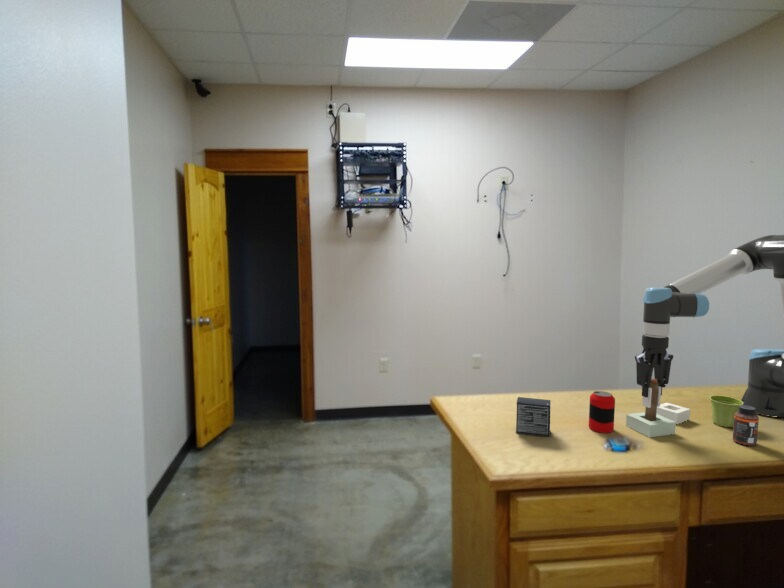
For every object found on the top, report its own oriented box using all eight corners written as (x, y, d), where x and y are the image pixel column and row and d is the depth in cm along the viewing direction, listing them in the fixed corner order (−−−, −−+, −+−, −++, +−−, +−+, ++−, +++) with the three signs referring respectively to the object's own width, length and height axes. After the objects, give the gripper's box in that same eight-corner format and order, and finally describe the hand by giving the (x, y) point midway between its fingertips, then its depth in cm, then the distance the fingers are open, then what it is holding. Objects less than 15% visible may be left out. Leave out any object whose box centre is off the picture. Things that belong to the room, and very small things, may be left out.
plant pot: (743, 424, 158) (745, 399, 157) (739, 432, 151) (741, 406, 150) (710, 417, 164) (712, 393, 163) (705, 424, 157) (707, 400, 157)
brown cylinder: (650, 418, 155) (653, 377, 153) (658, 422, 152) (660, 380, 150) (642, 419, 154) (645, 378, 153) (650, 423, 151) (652, 381, 149)
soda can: (594, 422, 159) (595, 388, 158) (617, 428, 154) (618, 393, 153) (584, 428, 154) (586, 393, 153) (608, 435, 149) (610, 399, 148)
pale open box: (650, 422, 159) (650, 411, 159) (674, 434, 150) (675, 422, 149) (625, 425, 157) (626, 414, 156) (649, 437, 147) (650, 425, 147)
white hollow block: (666, 413, 168) (666, 402, 168) (689, 420, 162) (690, 409, 161) (653, 417, 164) (654, 406, 164) (676, 424, 157) (677, 413, 157)
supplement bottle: (757, 448, 139) (760, 411, 138) (733, 444, 142) (736, 408, 141) (755, 441, 144) (758, 406, 143) (731, 437, 147) (734, 402, 146)
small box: (550, 430, 153) (551, 399, 152) (549, 437, 147) (551, 405, 146) (517, 426, 157) (517, 395, 156) (515, 433, 151) (516, 401, 149)
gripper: (665, 332, 156) (661, 400, 158) (626, 334, 151) (622, 404, 154) (685, 336, 148) (680, 407, 151) (644, 338, 144) (639, 412, 147)
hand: (651, 405), depth 152 cm, fingers closed on brown cylinder, 3 cm apart
